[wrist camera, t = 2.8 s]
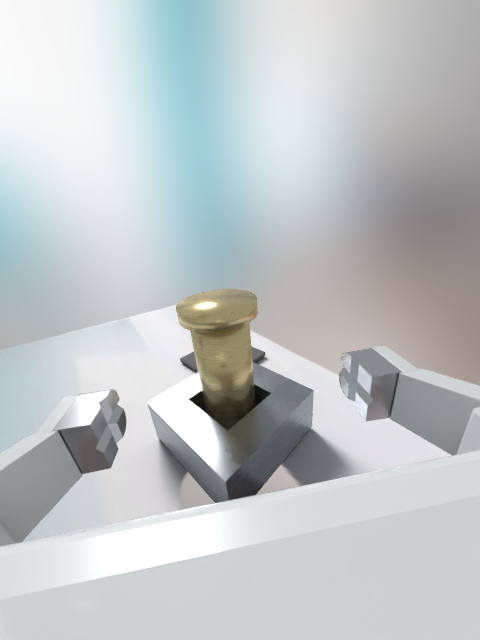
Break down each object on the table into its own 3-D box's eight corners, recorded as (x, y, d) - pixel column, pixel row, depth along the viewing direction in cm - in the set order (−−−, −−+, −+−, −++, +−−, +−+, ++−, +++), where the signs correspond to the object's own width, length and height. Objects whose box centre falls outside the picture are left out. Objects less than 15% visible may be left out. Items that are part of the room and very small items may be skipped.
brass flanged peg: (231, 460, 21) (210, 325, 16) (187, 421, 26) (160, 305, 20) (277, 415, 25) (273, 296, 20) (233, 388, 30) (220, 285, 25)
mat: (219, 386, 34) (219, 383, 33) (180, 361, 40) (180, 358, 40) (265, 355, 40) (265, 352, 40) (224, 338, 46) (224, 335, 46)
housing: (232, 522, 19) (225, 481, 17) (157, 436, 27) (147, 402, 25) (311, 426, 26) (313, 390, 24) (235, 382, 34) (231, 352, 32)
